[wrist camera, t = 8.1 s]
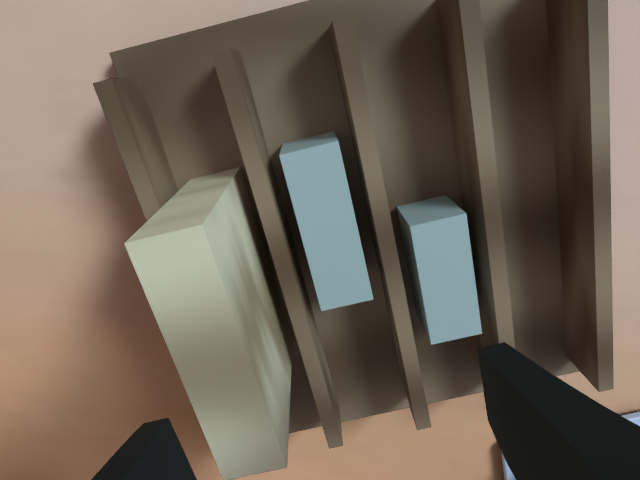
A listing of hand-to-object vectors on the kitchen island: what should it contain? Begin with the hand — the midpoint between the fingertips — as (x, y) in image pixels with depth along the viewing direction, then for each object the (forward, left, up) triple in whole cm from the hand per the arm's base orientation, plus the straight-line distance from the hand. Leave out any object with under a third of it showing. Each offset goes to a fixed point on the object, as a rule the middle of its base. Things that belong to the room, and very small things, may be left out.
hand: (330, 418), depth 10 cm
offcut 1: (+2, -1, -9) cm, 10 cm away
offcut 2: (-1, -5, -9) cm, 10 cm away
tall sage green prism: (+1, +3, -9) cm, 10 cm away
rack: (+1, -3, -10) cm, 11 cm away
